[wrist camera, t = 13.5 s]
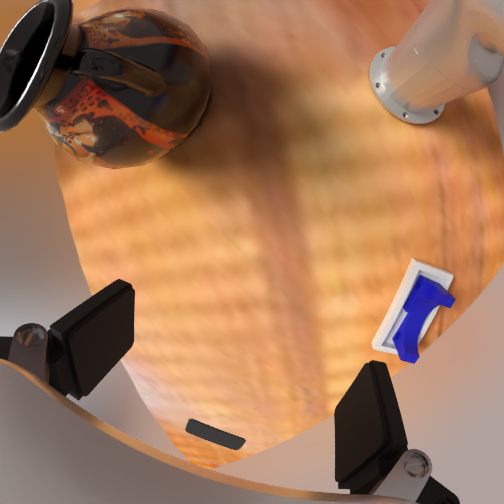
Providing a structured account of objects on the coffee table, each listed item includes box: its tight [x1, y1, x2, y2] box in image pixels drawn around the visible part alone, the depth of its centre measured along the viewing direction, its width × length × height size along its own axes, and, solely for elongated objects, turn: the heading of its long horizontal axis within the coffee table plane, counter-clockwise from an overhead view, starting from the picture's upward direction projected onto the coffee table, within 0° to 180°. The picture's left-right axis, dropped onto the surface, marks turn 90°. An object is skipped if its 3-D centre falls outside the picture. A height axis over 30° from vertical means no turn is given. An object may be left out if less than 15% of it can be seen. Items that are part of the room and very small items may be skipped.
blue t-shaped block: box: [392, 275, 455, 363], centre depth 35 cm, size 12×4×6 cm, turn 162°
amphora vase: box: [0, 0, 212, 169], centre depth 23 cm, size 22×22×28 cm
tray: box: [371, 258, 454, 354], centre depth 37 cm, size 16×8×2 cm, turn 166°
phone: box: [185, 419, 245, 450], centre depth 57 cm, size 7×1×15 cm
